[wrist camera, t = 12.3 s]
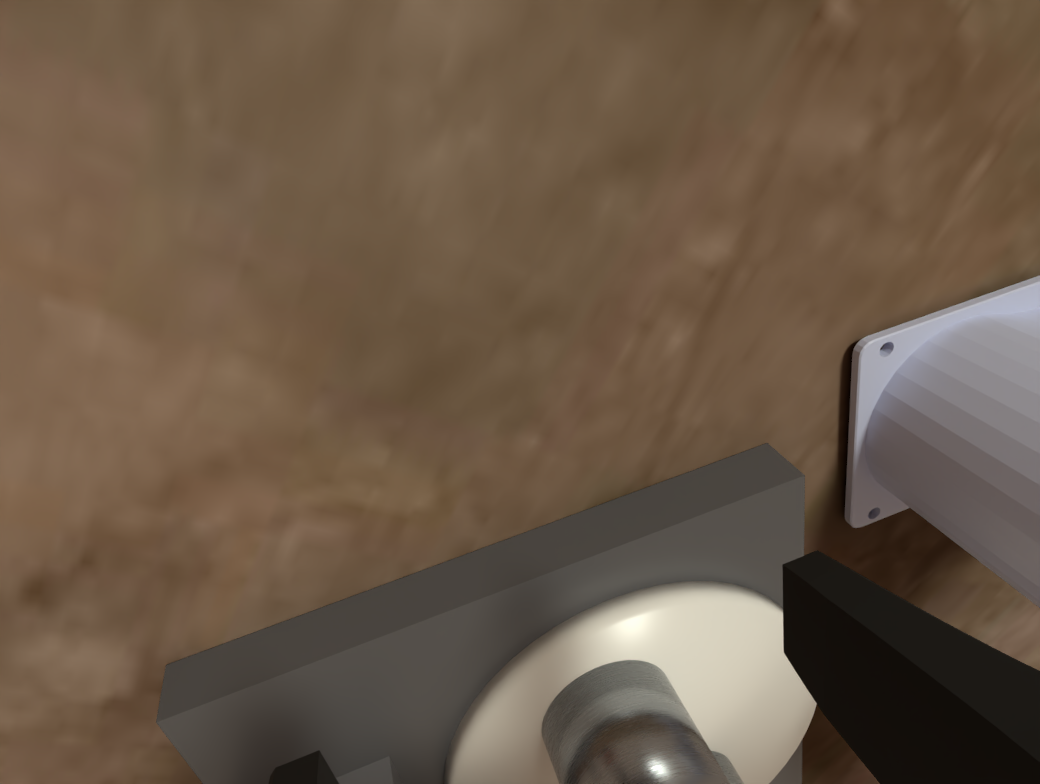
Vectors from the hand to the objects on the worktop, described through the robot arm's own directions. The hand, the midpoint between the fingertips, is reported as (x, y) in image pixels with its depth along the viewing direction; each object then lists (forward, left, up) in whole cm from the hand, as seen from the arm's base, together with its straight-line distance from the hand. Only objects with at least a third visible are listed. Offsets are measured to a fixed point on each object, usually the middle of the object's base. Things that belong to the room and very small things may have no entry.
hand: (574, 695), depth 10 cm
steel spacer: (-2, +12, -7) cm, 14 cm away
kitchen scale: (0, +15, -10) cm, 18 cm away
